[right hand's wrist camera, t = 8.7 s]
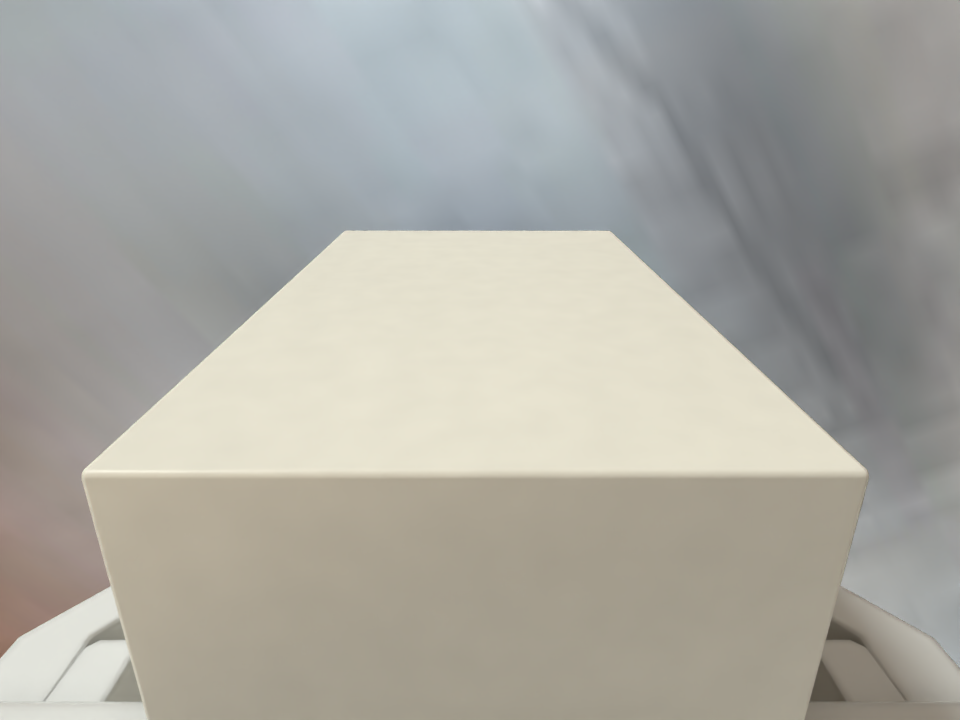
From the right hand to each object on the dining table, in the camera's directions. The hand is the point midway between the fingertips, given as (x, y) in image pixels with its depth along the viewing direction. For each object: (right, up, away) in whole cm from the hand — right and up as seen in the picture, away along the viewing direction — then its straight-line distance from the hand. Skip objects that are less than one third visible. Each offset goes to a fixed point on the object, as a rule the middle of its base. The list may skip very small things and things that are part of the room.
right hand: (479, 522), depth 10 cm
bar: (0, -8, +6) cm, 10 cm away
